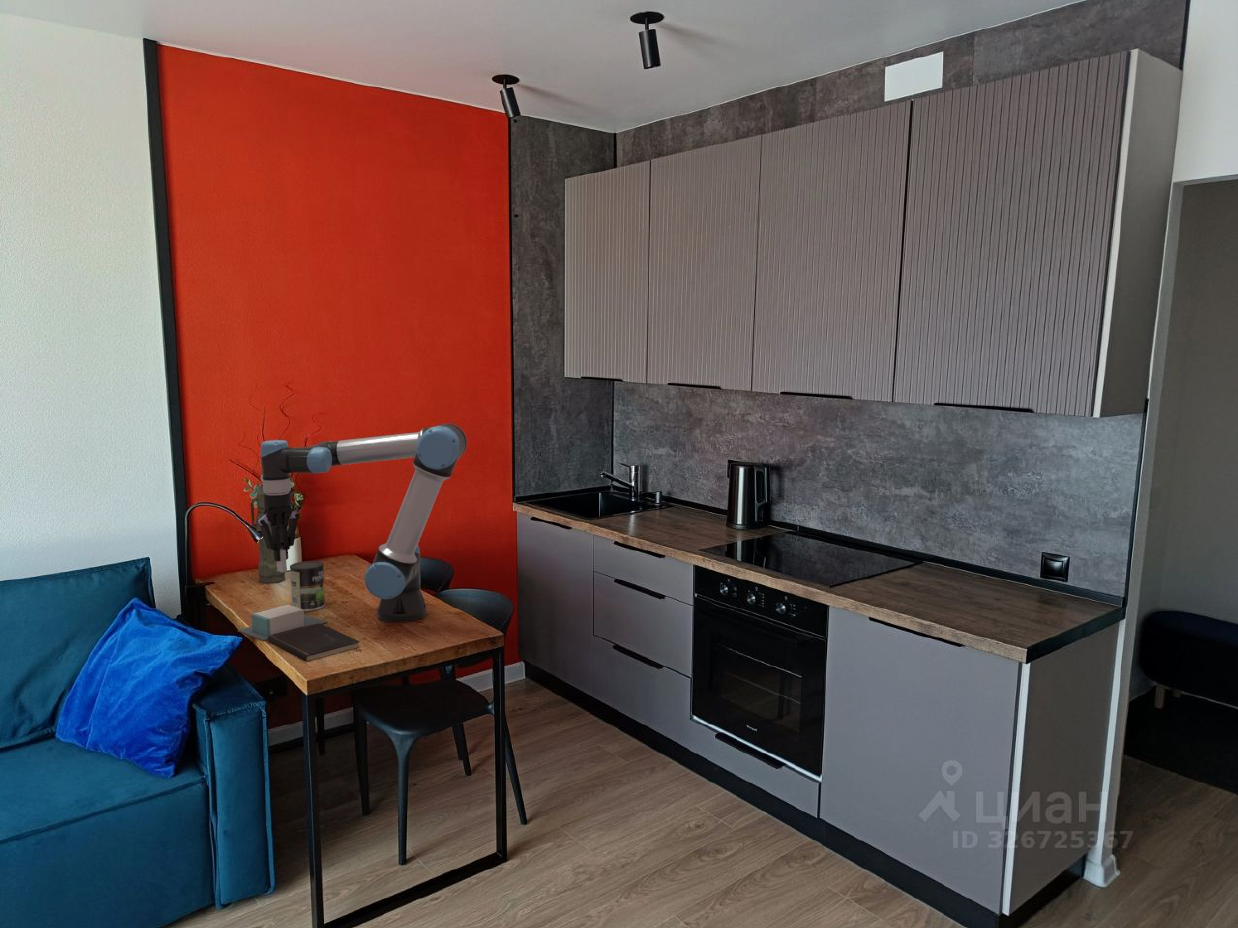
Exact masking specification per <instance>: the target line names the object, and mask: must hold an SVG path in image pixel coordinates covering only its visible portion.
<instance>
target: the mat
mask: <svg viewBox="0 0 1238 928" xmlns="http://www.w3.org/2000/svg"><path fill="white" fill-rule="evenodd" d="M318 623H321V624H323V625H325V624H328V621H326V620H322V618H321V619H320V618H318V617H315V616H311V615H310V614H309V615H308V614H306V613H304V626H301V627H306V626H310V625H314V624H318ZM301 627H298V628H301ZM294 629H297V628H294ZM291 630H293V629H291ZM287 631H289V630H287ZM237 632H239V633H241V634H244V635H246V636H248V637H251V638H254V639H256V640H259V641H262V642H266V641H267V642H268V636H266V635H263V634H260V633H258V632H255V631H252V625H251V626H248V627H244V628H240V629H237ZM284 632H285V631H284ZM280 633H281V632H280Z"/></svg>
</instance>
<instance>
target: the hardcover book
mask: <svg viewBox="0 0 1238 928" xmlns="http://www.w3.org/2000/svg"><path fill="white" fill-rule="evenodd" d="M267 642H268V643H270V644H272V645H274V646H275V647H277V648H279V649H281V650H283V651H285V652H286V653H289V654H291V655H292V656H295V657H296V656H297V657H296V658H298V659H300V660H302V661H303V662H305V661H306V662H305V663H307V662H310V661H312V660H313V659H314V660H317V659H320V658H321V659H322V658H325V657H328V656H331V655H335V654H338V653H342V652H346V651H350V650H354V649H357V648H359V643H360V642H361V641H360V640H358V639H355V638H353V637H351V636H349V635H347V634H344V633H342V632H340V631H338V630H336V629H334V628H331V627H329V626H327V625H325V624H321V623H318V624H314V625H310V626H306V627H301V628H297V629H293V630H289V631H285V632H281V633H277V634H273V635H269V636H268V640H267ZM309 660H310V661H309Z"/></svg>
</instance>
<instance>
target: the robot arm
mask: <svg viewBox="0 0 1238 928" xmlns="http://www.w3.org/2000/svg"><path fill="white" fill-rule="evenodd" d="M467 447H468V439H467V436H466V433H465V432H464V430H463V429H462V428H461V427H460V426H458V425H456V424H453V423H441V424H439V425H436V426H431V427H424V428H422V429H421V430H419V431H418V432H417V431H416V432H410V433H409V432H408V433H397V434H390V435H380V436H370V437H363V438H361V437H360V438H353V439H352V438H351V439H344V440H333V441H331V440H327V441H321V442H319V443H317V444H314V445H310V446H304V447H302V446H301V447H291V446H290V447H289V443H288V441H287V440H281V439H274V440H266V441H262V442H261V445H260V463H261V473H262V474H261V475H262V485H263V492H264V493H266V494H265V495H264V507H265V512H264V516H263V517H262V518H261V519H257V523H258V524H259V525H260V527H261V530H262V534H263V537H264V540H265V543H266V547H267V549H271V550H273V551H274V560H275V561H277V571H279V572H285V573H286V572H288V568H287V560H289V550H290V549H291V547H293V546H295V540H296V533H297V527H298V521H299V519H300V518H301V514H300V513H299V512H295V511H293V508H292V506H291V505H292V493H290V492H291V491H292V488H291V487H292V486H291V474H322V473H323V474H324V473H328V472H329V471H330V469H331V468H332V467H336V466H344V465H354V464H363V463H373V462H382V461H392V460H402V459H411V458H412V459H413V458H414V459H413V461H412V465H413V468H414V469H415V470H414V473H413V476H412V479H411V481H410V483H409V486H408V488H407V491H406V494H405V495H404V498H403V500H402V503H401V506H400V508H399V511H398V512H397V515H396V518H395V521H394V523H393V526H392V528H391V530H390V533H389V535H388V538H387V541H386V543H383V544H381V545H380V546H379V547H378V549H377V552H376V554H375V556H374V559H373V561H372V564H371V565H369V566H368V568H367V570H366V572H365V575H364V584H365V587H366V589H367V590H368V592H369V593H370V594H371V595H372V596H374V597H375V598H376V599H377V598H378V599H380V600H379V604H378V608H377V613H376V614H377V618H378V620H380V621H383V622H387V623H407V622H408V623H409V622H414V621H418V620H421V619H423V618H425V617H426V616H427V613H428V612H427V611H428V609H427V604H426V601H425V599H424V595H423V593H422V590H421V552H420V551H421V550H420V547H419V543H420V539H421V537H422V535H423V532H424V530H425V528H426V525H427V522H428V520H429V518H430V515H431V512H432V510H433V507H434V504H435V502H436V500H437V497H438V495H439V493H440V490H441V488H442V485H443V482H444V481H446V480H449V479H451V477H452V474H453V472H454V469H455V467H456V465H457V462H458V461H459V459H460V458H461V457H462V456H463V455H464V454H465V452H466V450H467ZM267 520H268V521H269V522H270V527H271V532H272V536H271V532H270V529H269V526H268V524H267V523H268V522H267ZM281 548H282V549H281Z"/></svg>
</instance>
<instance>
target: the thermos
mask: <svg viewBox="0 0 1238 928" xmlns="http://www.w3.org/2000/svg"><path fill="white" fill-rule="evenodd" d="M256 493H257V494H256V498H253V499H252V500H251V502H250V503H249V504H250V514H251V515H250V516H251V526H252V527H253V528H255V530H256V532H257V531H261V532H262V530H261V527H260V525H259V524H258V523H257V519H261V518H262V517H263V516H264V512H265V507H264V495H265V494H266V493H264V492H263V484H261V485H259V486H258V488H257V490H256ZM255 502H256V506H257V507H256V508H257V515H256V519H255V508H254V506H255ZM267 522H268V523H267V524H268V526H269V529H270V532H271V527H270V522H269V521H268V520H267ZM271 536H272V532H271ZM281 549H282V548H281ZM258 553H259V554H258V555H259V559H258V560H259V562H258V565H257V566H258V567H257V568H258V569H257V571H258V577H259V583H260V584H264V585H269V584H271V585H272V584H278V583H279V584H280V583H282V582H285V580H286V575H285V574H286V572H279V571H277V561H275V560H274V551H273V550H271V549H267V547H266V543H265V540H264V537H263V538H262V539H260V540H258Z"/></svg>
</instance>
